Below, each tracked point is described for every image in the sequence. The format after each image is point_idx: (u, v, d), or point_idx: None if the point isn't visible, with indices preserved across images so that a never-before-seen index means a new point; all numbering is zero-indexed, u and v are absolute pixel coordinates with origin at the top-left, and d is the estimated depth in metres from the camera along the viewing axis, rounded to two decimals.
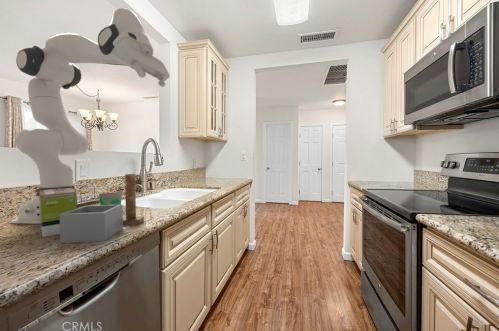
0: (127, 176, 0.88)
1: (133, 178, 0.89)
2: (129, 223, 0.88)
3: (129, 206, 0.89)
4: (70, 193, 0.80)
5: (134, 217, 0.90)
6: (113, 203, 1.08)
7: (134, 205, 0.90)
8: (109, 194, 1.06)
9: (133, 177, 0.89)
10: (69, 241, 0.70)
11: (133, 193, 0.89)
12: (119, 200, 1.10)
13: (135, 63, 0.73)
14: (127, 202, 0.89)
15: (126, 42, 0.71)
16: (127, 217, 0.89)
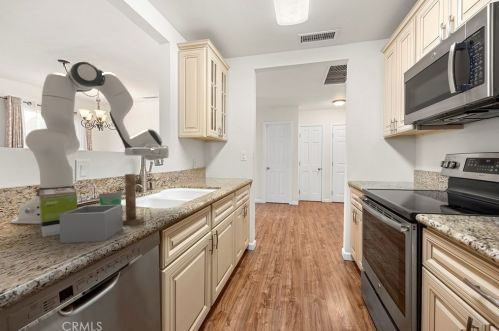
0: (127, 176, 0.88)
1: (133, 178, 0.89)
2: (129, 223, 0.88)
3: (129, 206, 0.89)
4: (70, 193, 0.80)
5: (134, 217, 0.90)
6: (113, 203, 1.08)
7: (134, 205, 0.90)
8: (109, 194, 1.06)
9: (133, 177, 0.89)
10: (69, 241, 0.70)
11: (133, 193, 0.89)
12: (119, 200, 1.10)
13: (159, 152, 1.09)
14: (127, 202, 0.89)
15: (167, 156, 1.15)
16: (127, 217, 0.89)
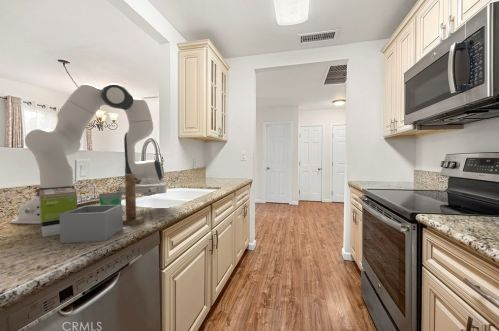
0: (127, 176, 0.88)
1: (133, 178, 0.89)
2: (129, 223, 0.88)
3: (129, 206, 0.89)
4: (70, 193, 0.80)
5: (134, 217, 0.90)
6: (113, 203, 1.08)
7: (134, 205, 0.90)
8: (109, 194, 1.06)
9: (133, 177, 0.89)
10: (69, 241, 0.70)
11: (133, 193, 0.89)
12: (119, 200, 1.10)
13: (156, 190, 1.04)
14: (127, 202, 0.89)
15: (165, 192, 1.10)
16: (127, 217, 0.89)
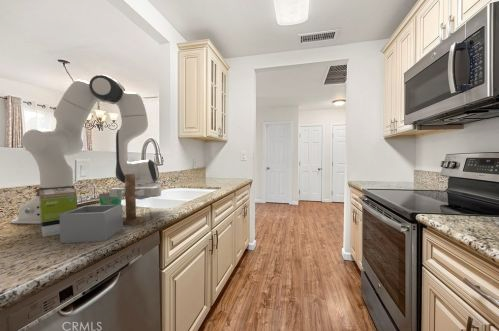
0: (127, 176, 0.88)
1: (133, 178, 0.89)
2: (129, 223, 0.88)
3: (129, 206, 0.89)
4: (70, 193, 0.80)
5: (134, 217, 0.90)
6: (113, 203, 1.08)
7: (134, 205, 0.90)
8: (109, 194, 1.06)
9: (133, 177, 0.89)
10: (69, 241, 0.70)
11: (133, 193, 0.89)
12: (119, 200, 1.10)
13: (144, 193, 0.94)
14: (127, 202, 0.89)
15: None
16: (127, 217, 0.89)
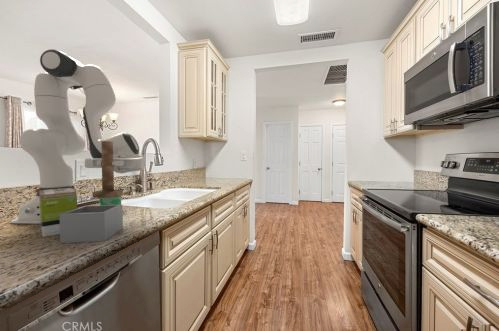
0: (104, 143, 0.79)
1: (110, 146, 0.80)
2: (105, 195, 0.79)
3: (106, 176, 0.80)
4: (70, 193, 0.80)
5: (111, 189, 0.81)
6: (113, 203, 1.08)
7: (112, 176, 0.81)
8: None
9: (111, 145, 0.80)
10: (69, 241, 0.70)
11: (111, 162, 0.80)
12: (119, 200, 1.10)
13: (123, 164, 0.85)
14: (103, 172, 0.79)
15: (141, 168, 0.91)
16: (103, 189, 0.80)
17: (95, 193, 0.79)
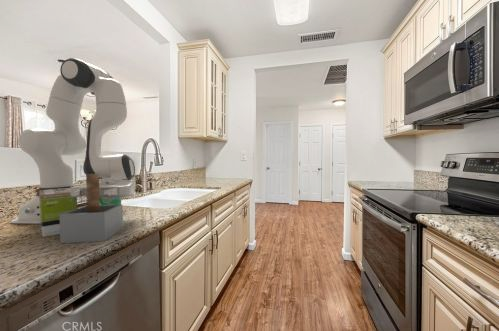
0: (88, 176, 0.74)
1: (96, 179, 0.75)
2: None
3: (91, 212, 0.75)
4: None
5: None
6: (113, 203, 1.08)
7: (97, 211, 0.76)
8: None
9: (96, 178, 0.76)
10: (69, 241, 0.70)
11: (96, 196, 0.76)
12: (119, 200, 1.10)
13: (117, 193, 0.80)
14: (88, 207, 0.75)
15: (131, 195, 0.86)
16: None
17: None
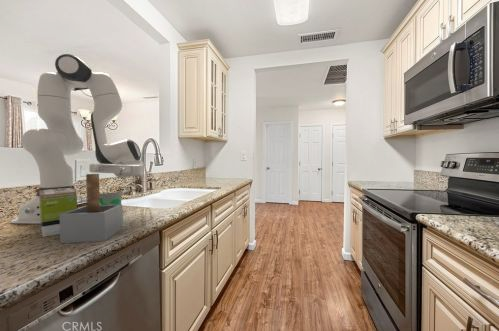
0: (88, 176, 0.74)
1: (96, 179, 0.75)
2: None
3: (91, 212, 0.75)
4: (70, 193, 0.80)
5: None
6: (113, 203, 1.08)
7: (97, 211, 0.76)
8: (109, 194, 1.06)
9: (96, 178, 0.76)
10: (69, 241, 0.70)
11: (96, 196, 0.76)
12: (119, 200, 1.10)
13: (130, 171, 0.93)
14: (88, 207, 0.75)
15: (141, 174, 0.99)
16: None
17: None
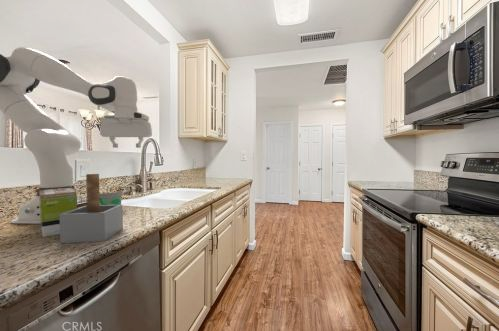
0: (88, 176, 0.74)
1: (96, 179, 0.75)
2: None
3: (91, 212, 0.75)
4: (70, 193, 0.80)
5: None
6: (113, 203, 1.08)
7: (97, 211, 0.76)
8: (109, 194, 1.06)
9: (96, 178, 0.76)
10: (69, 241, 0.70)
11: (96, 196, 0.76)
12: (119, 200, 1.10)
13: None
14: (88, 207, 0.75)
15: None
16: None
17: None
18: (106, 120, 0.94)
